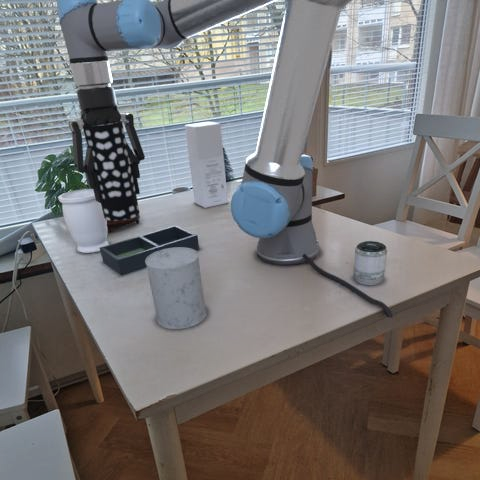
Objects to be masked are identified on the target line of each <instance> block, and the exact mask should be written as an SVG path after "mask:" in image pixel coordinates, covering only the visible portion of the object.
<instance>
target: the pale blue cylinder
mask: <svg viewBox="0 0 480 480" xmlns="http://www.w3.org/2000/svg"><path fill="white" fill-rule="evenodd" d="M199 256H200V255H199V252H198V250H196V251H195V250H194V249H191V248H185V247H174V248H167V249H163V250H159V251H157V252H154V253H152V254H151V255H149V256H148V257H147V258H146V260H145V263H146V265H147V267H146V271H147V275H148V279H149V284H150V290H151V294H152V299H153V305H154V309H155V313H156V314H155V315H156V321H157V323H158V324H159V325H160V326H161V327H163V328H165V329H169V330H183V329H184V330H185V329H189V328H192V327H194V326H197V325H198V324H200V323H202V322H203V321H204V319H205V318H206V317H207V310H206V305H205V298H204V290H203V283H202V276H201V275H202V274H201V268H200V267H201V266H200V260H199V259H200V258H199Z"/></svg>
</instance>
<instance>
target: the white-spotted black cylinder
mask: <svg viewBox="0 0 480 480" xmlns="http://www.w3.org/2000/svg"><path fill="white" fill-rule="evenodd" d="M124 128H125V127H124V124H123V123H122V120H120V122H115V123H111V124H109V123H108V124H102V125H97V126H96V125H94V126H85V125H84V124H83V126H82V131H83V134H84V138H85V142H86V143H85V144H86V147H87V146H88V148H90V147H92V152H93V156H94V160H95V161H94V167H93V172H96V173H97V176H98V180H99V185H100V189H101V193H102V198H103V203H101V206H102V210H103V215H104V218H105V219H106V220H111V221H119V220H126V219H130V218H133V217H136V216H137V215H140V208H139V202H138V197H137V196H138V195H137V194H136V191H135V186H134V180H133V175H132V170H131V165H130V164H131V163H130V160H129V154H128V149H127V144H126V142H127V139H126V133H125V129H124Z"/></svg>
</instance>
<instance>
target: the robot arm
mask: <svg viewBox="0 0 480 480" xmlns="http://www.w3.org/2000/svg"><path fill="white" fill-rule="evenodd" d="M55 1H56V9H57V13H58V19H59V20H58V22H59V26H60V29H61V32H62V36H63V39H64V44H65V47H66V50H67V55H68V59H69V65H70V70H71V74H72V78H73V82H74V86H75V87H78V89H76V96H77V99H78V104H79V109H80V112H81V115H80V118H79V119H76V120H69V121H68V128H69V129H70V132H71V137H72V138H71V139H72V151H73V153H72V154H73V165H74V166H73V168H74V170H75V171H77V172H79V173H84V175H85V178H86V179H85V180H86V182H87V186H88V188H89V187H90V188H93V190H94V194H95V199H96V201H97V202H99V203H103V198H102V193H101V189H100V185H99V180H98V176H97V173H96V172H93V167H94V161H95V160H94V156H93V152H92V147H90V148H88V146H87V145H86V151H85V157H84V149H83V148H84V147H83V135H82V131H83V125H85V126H94V125H96V126H97V125H102V124H108V123H109V124H111V123H115V122H120V121H122V123H123V126H124V128H125V129H124V130H125V132H126V134H127V137H128V139H129V142H130V145H131V146H130V145H129V143H128V142H127V141H126V144H127V149H128V154H129V160H130V165H131V170H132V175H133V180H134V186H135V191H136V195H140V194H141V192H140V186H139V181H138V179H140V178H141V173H140V168H139V165H140V163H141V162H142V161H144V160H145V159H146V156H145V153H144V150H143V148H142V144H141V142H140V139H139V136H138V133H137V130H136V127H135V119H134V114H133V113H129V112H126V113H121V112H120V111H119V108H118V101H117V97H116V92H115V88H114V86H111V85H112V84H113V76H112V72H111V67H110V62H109V55H108V52H110V51H122V50H143V49H145V50H146V49H165V50H170V49H174V48H177V47H179V46H181V45H182V44H183V43H184V42H185V40H187V39H189V38H191V37H194V36H196V35H199V34H201V33H203V32H205V31H208V30H210V29H212V28H215V27H218V26H221V25H222V24H224V23H226V22H229V21H232V20H234V19H236V18H238V17H241V16H243V15H246V14H248V13H250V12H252V11H255V10H258V9H261V8H262V7H264V6H267V5H269V4H272V3H274V2H276V1H278V0H161V1H160V2H157V3H152V1H151V0H114V1H106V2H98V0H55ZM352 1H353V0H286V4H285V8H284V13H283V18H282V24H281V29H280V33H279V34H280V35H279V39H278V42H277V43H278V44H277V48H276V53H275V57H274V63H273V68H272V73H271V78H270V81H269V82H270V83H269V87H268V91H267V96H266V101H265V106H264V111H263V116H262V121H261V124H260V125H261V126H260V131H259V135H258V140H257V143H256V149H255V152H254V153H251V154H250V155H249V156H248V157H247V158H246V160H245V164H244V165H245V166H244V170H243V174H242V178H241V184H240V185H238V186H237V187H236V189H235V190H234V191H233V194H232V195H231V199H230V213H231V216H232V218H233V220H234V222H235V223H236V225H237V226H238V228H239V229H240V230H241V231H242V232H243V233H245V234H246V235H249V236H251V237H253V238H256V239H258V241H257V243H256V247H255V249H256V257H257V258H258V259H259V260H261V261H262V262H265V263H266V264H271V265H277V266H293V265H301V264H306V263H308V264H309V265H310V266H311V267H312V268H313V269H314V270H315V271H317V272H318V273H319V274H321V275H323V276H324V277H327V278H329V279H331V280H332V281H335V282H337V283H338V284H341V285H342V286H344V287H346V288H347V289H349V290H351V291H352V292H354V293H355V294H357V295H358V296H359V297H361V298H362V299H364V300H366V301H367V302H369V303H370V304H372V305H374V306H375V305H376V306H378V307H379V308H381V309H382V310H383V311H384V312H385V314H386V317H387V318H390V319H392V318H393V317H394V315H393V313H392V311H391V309H390V307H388V306H387V304H386V303H385V302H383V301H381V300H377V299H375V298H373V297H371V296H369V295H368V294H366V293H365V292H363V291H362V290H360V289H358V288H357V287H355V286H354V285H353V284H351V283H349V282H347V281H346V280H344V279H343V278H340V277H338V276H336V275H334V274H332V273H329V272H328V271H326V270H324V269H322V267H319V266H318V265H317V264H316V262H314V261H313V260H314V259H316V258H317V257H318V255H319V254H320V245H319V240H318V238H317V235H316V231H315V228H314V225H313V173H314V168H313V159H312V157H311V156H310V155H307V154H303V153H304V149H305V146H306V142H307V137H308V134H309V130H310V126H311V123H312V119H313V115H314V112H315V109H316V105H317V101H318V97H319V93H320V89H321V86H322V83H323V79H324V75H325V72H326V67H327V64H328V60H329V57H330V53H331V49H332V46H333V42H334V38H335V35H336V30H337V28H338V24H339V19H340V16H341V13H342V10H343V9H344V8H345V7H346V6H347V5H348V4H350V3H351V2H352Z"/></svg>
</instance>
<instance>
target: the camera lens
mask: <svg viewBox="0 0 480 480" xmlns="http://www.w3.org/2000/svg"><path fill="white" fill-rule="evenodd" d="M387 256H388V248H387V246H386V244H384V243H383V242H379V241H374V240H365V241H361V242H359V243H358V244H357V245H356V246H355V248H354V263H353V276H354V281H355V282H356V283H358V284H361V285H363V286H376V285H379V284H381V283H382V282H383V279H384V277H385V274H386V266H387Z"/></svg>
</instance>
